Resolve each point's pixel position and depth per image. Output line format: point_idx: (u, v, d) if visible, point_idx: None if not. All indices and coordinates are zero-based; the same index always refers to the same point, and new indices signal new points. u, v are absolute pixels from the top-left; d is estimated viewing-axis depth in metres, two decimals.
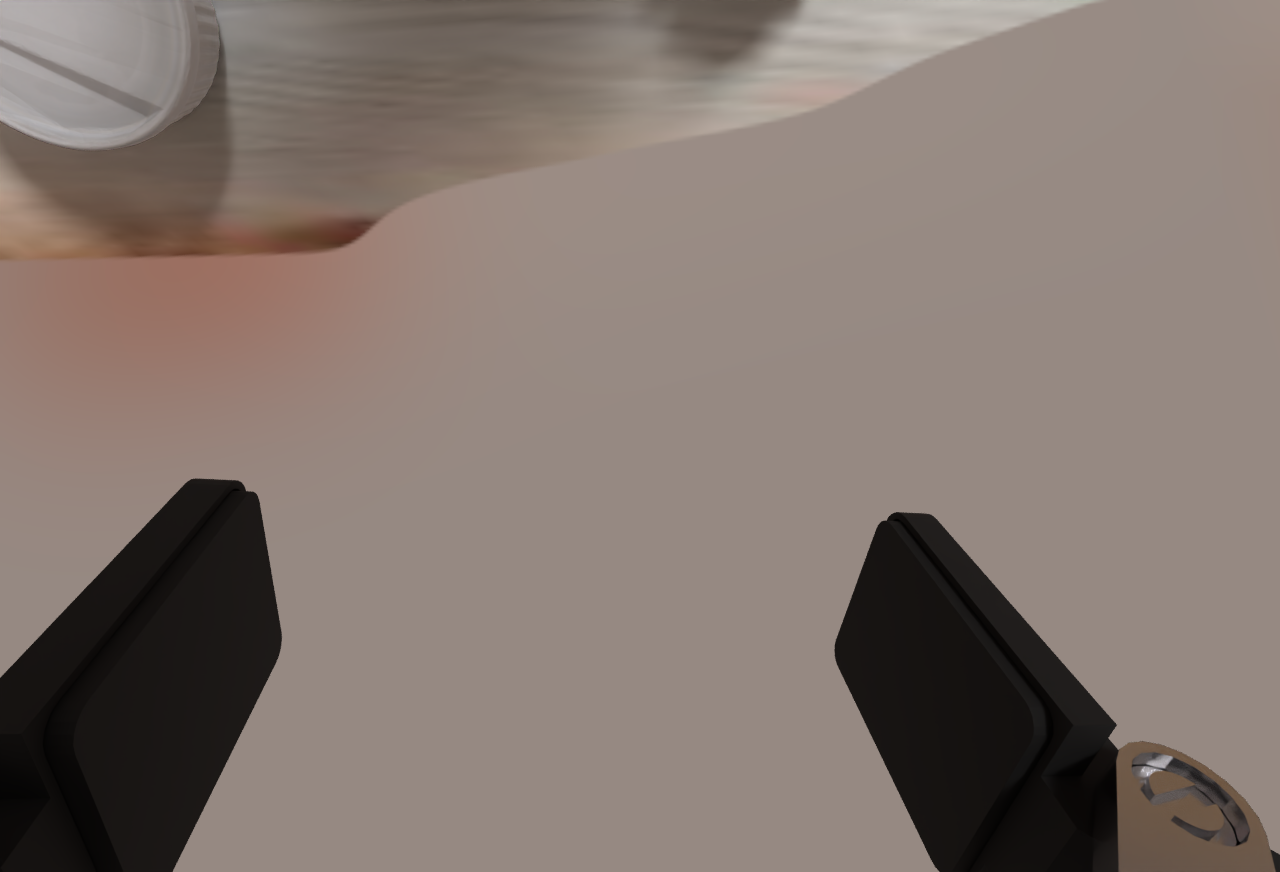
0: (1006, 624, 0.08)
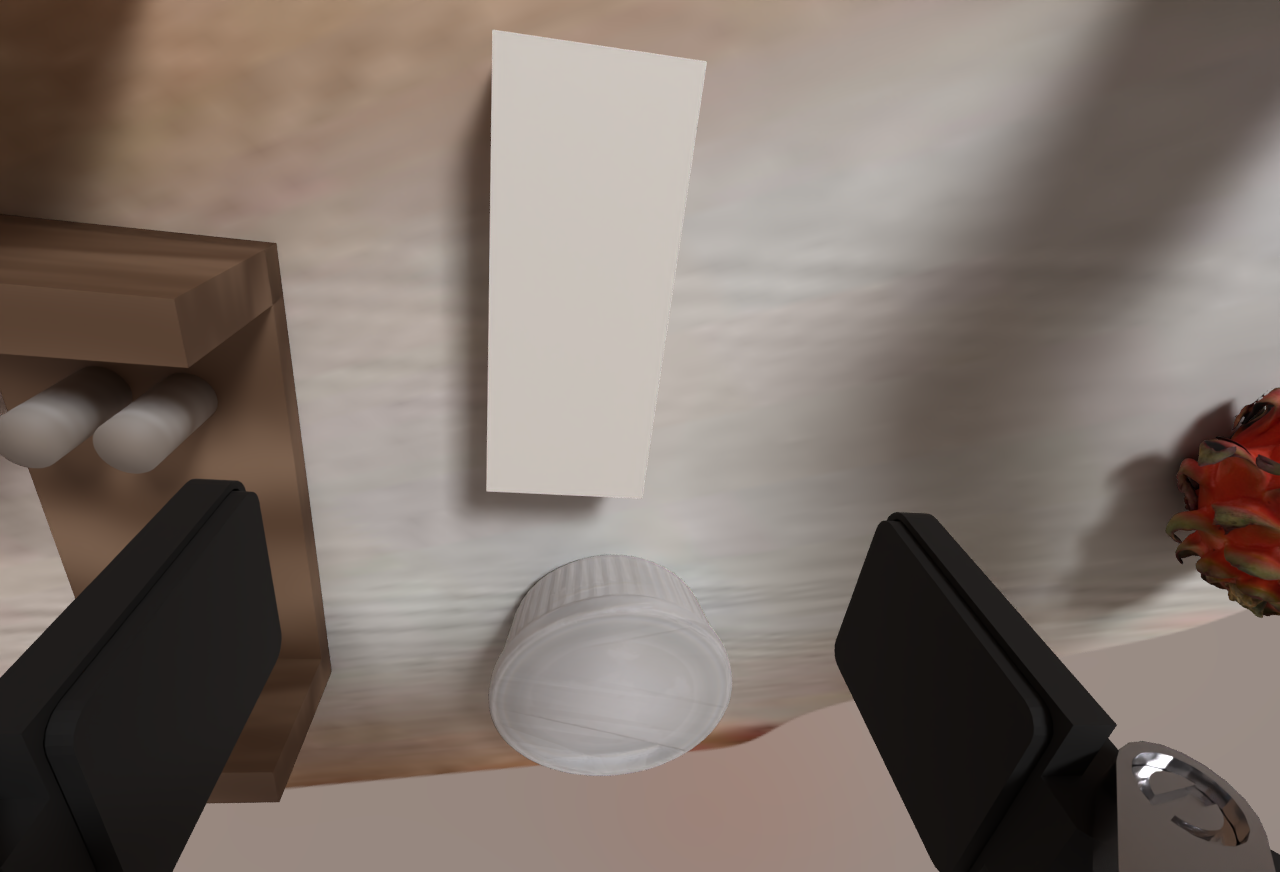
0: (1006, 624, 0.08)
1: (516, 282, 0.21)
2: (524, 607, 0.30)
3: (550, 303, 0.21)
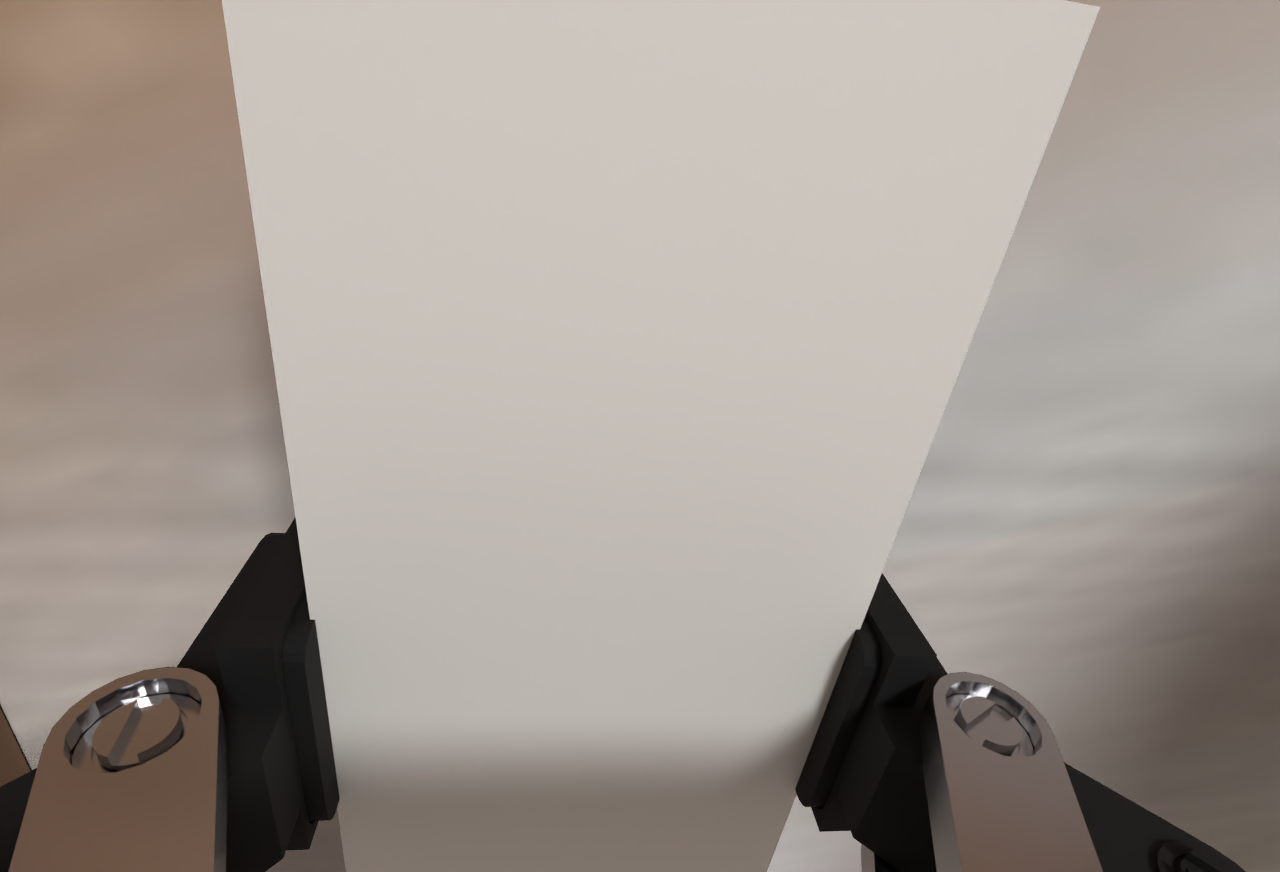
0: None
1: (401, 675, 0.07)
2: None
3: (504, 712, 0.08)
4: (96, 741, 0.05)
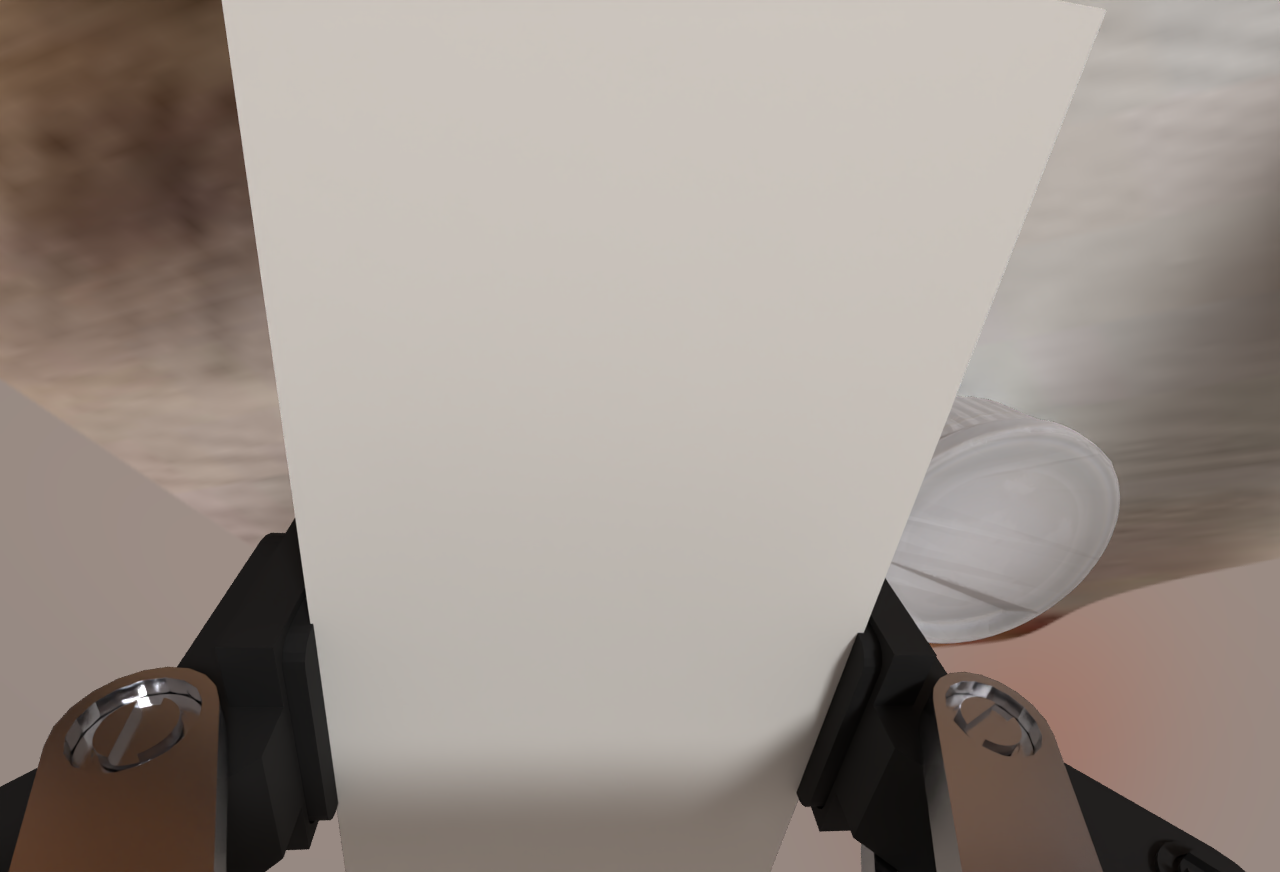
0: None
1: (403, 680, 0.07)
2: None
3: (506, 716, 0.07)
4: (96, 741, 0.05)
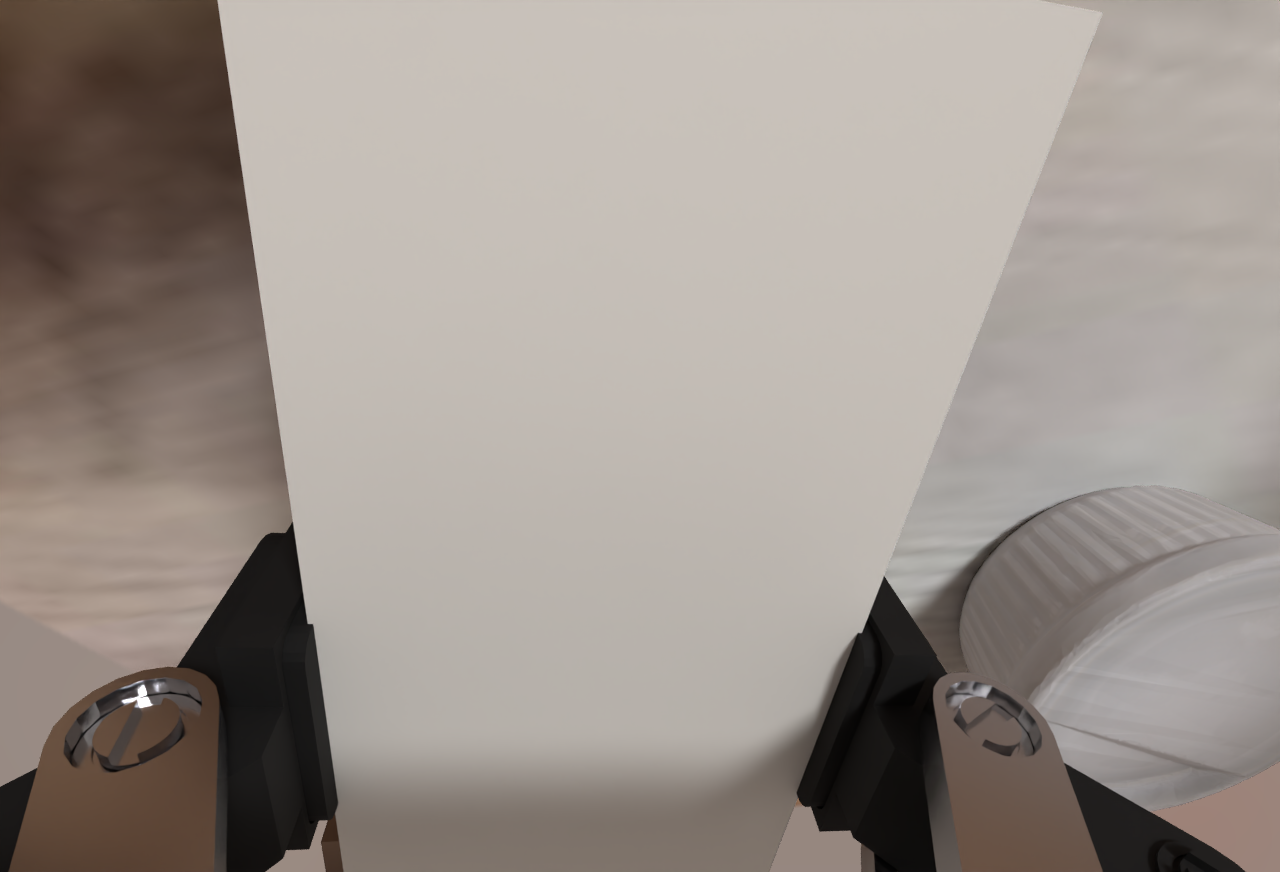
0: None
1: (400, 682, 0.07)
2: (1039, 563, 0.20)
3: (503, 718, 0.07)
4: (96, 741, 0.05)
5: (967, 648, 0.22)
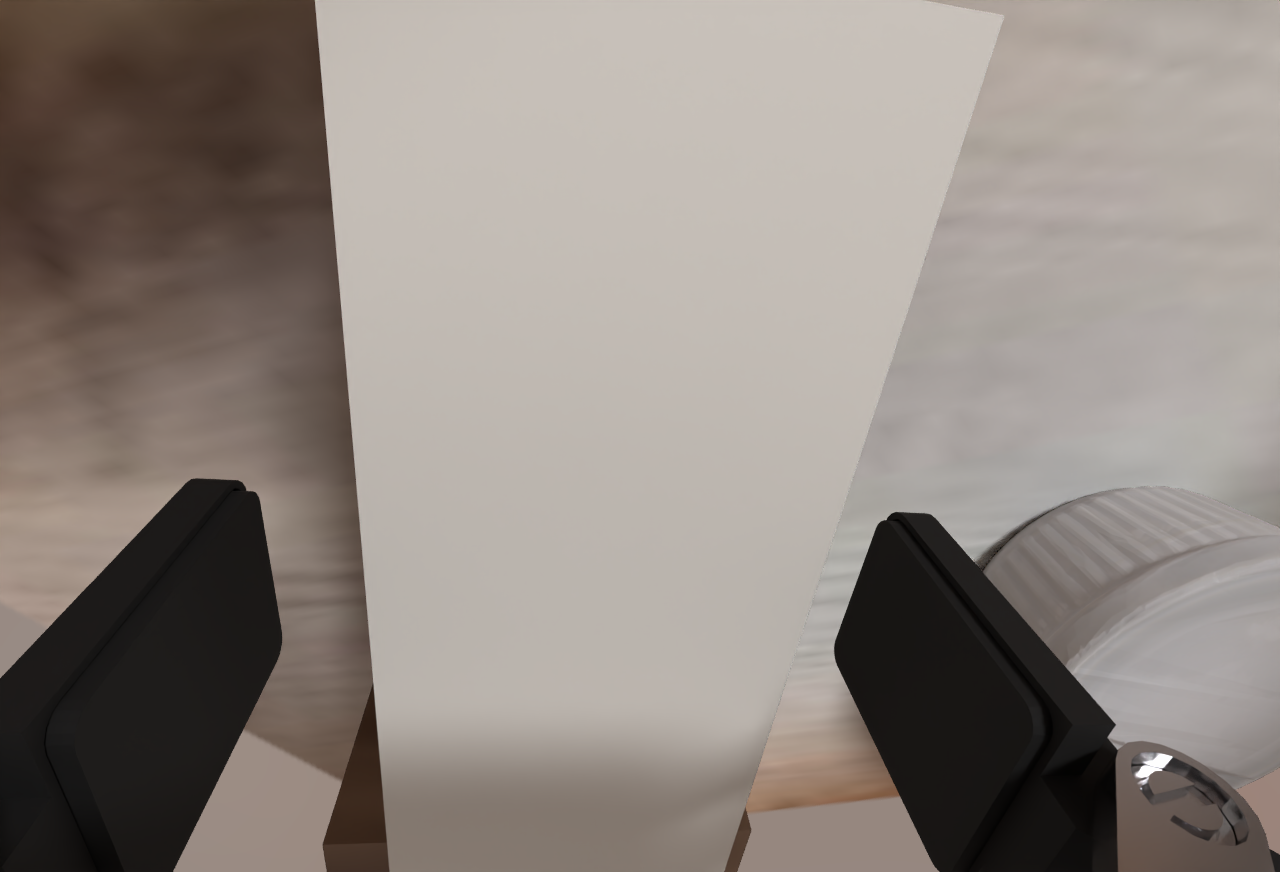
0: (1006, 624, 0.08)
1: (435, 584, 0.08)
2: (1044, 564, 0.20)
3: (522, 620, 0.09)
4: None
5: None
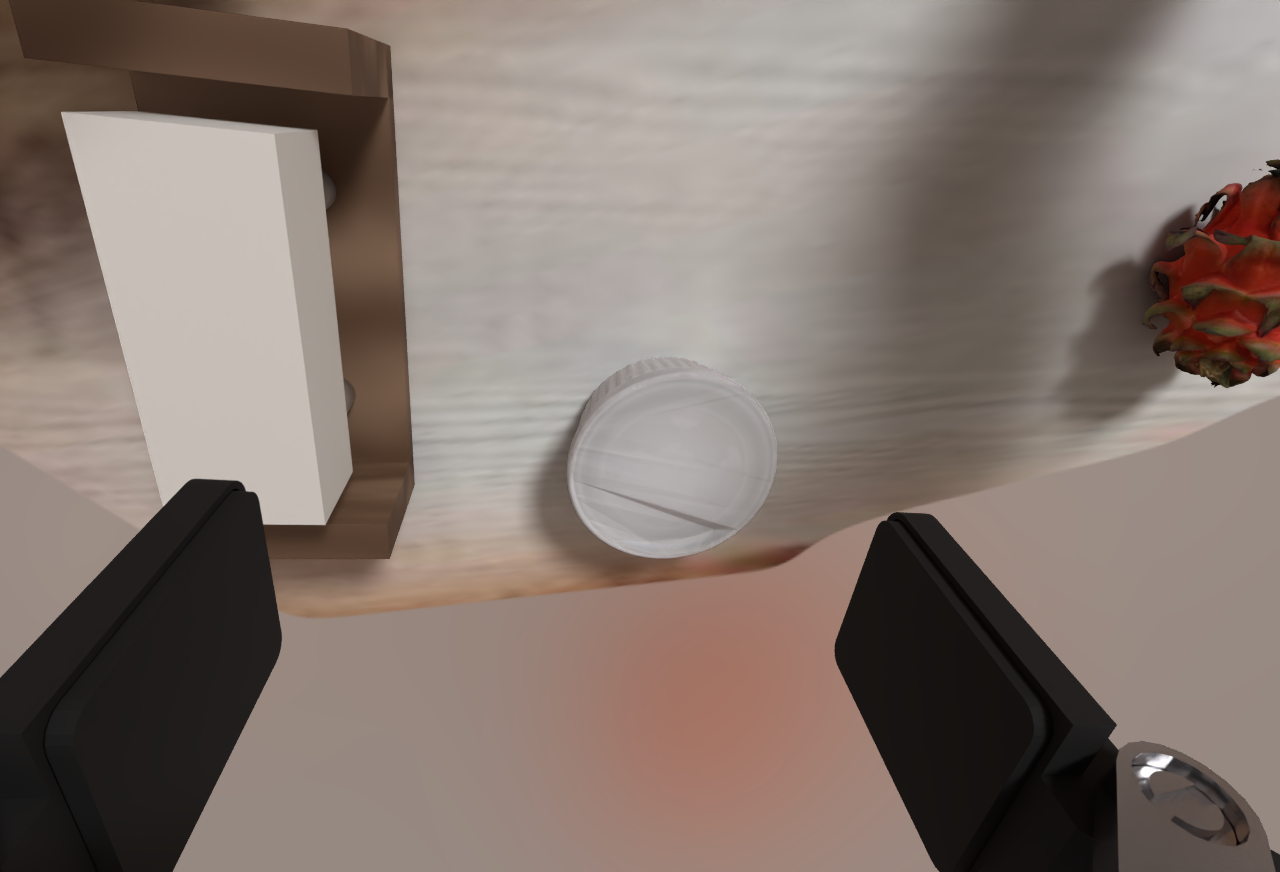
0: (1006, 624, 0.08)
1: (144, 332, 0.23)
2: (592, 400, 0.34)
3: (183, 350, 0.23)
4: None
5: None
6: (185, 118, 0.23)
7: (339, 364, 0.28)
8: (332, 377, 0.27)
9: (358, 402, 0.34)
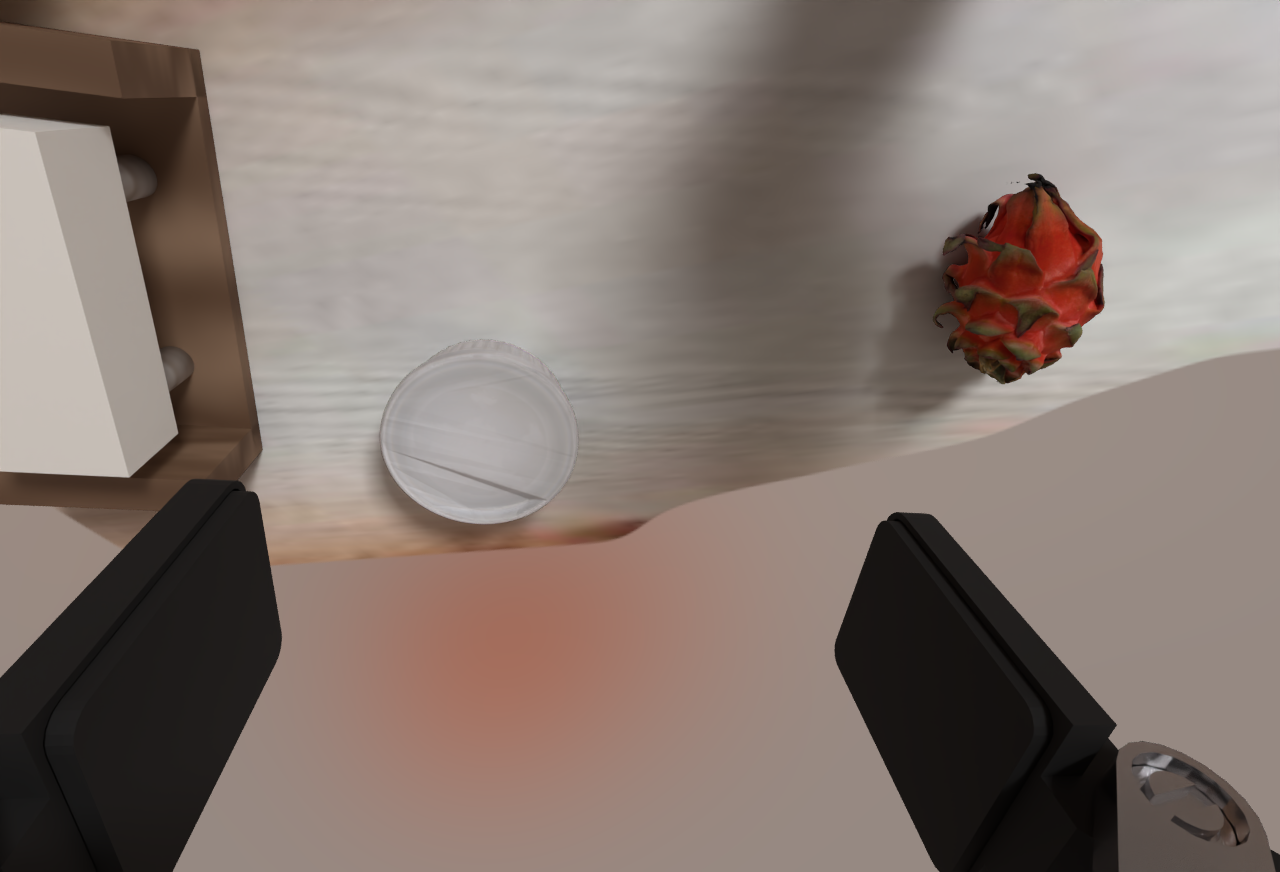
0: (1006, 624, 0.08)
1: None
2: None
3: None
4: None
5: None
6: None
7: (151, 335, 0.32)
8: (139, 346, 0.31)
9: (197, 371, 0.37)
